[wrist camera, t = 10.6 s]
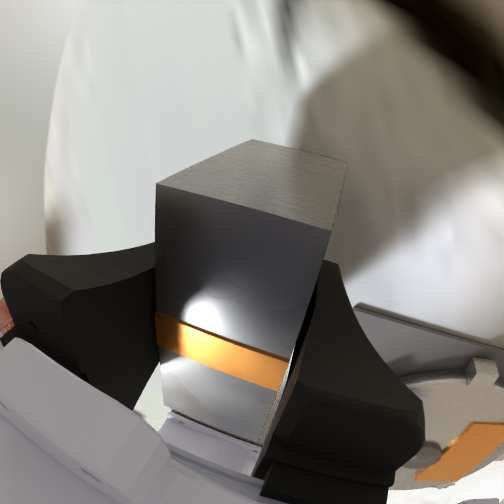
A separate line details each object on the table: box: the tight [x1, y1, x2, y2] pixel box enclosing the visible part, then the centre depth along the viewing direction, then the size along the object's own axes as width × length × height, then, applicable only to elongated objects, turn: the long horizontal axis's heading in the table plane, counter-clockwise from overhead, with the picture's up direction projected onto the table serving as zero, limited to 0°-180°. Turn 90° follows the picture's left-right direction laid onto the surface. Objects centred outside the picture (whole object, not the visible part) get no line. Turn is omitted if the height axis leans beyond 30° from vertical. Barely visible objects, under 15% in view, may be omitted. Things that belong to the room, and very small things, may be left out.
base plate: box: [353, 306, 504, 488], centre depth 18 cm, size 18×18×1 cm
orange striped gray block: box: [155, 139, 348, 442], centre depth 10 cm, size 4×8×6 cm, turn 171°
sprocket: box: [388, 357, 504, 490], centre depth 16 cm, size 17×17×4 cm
